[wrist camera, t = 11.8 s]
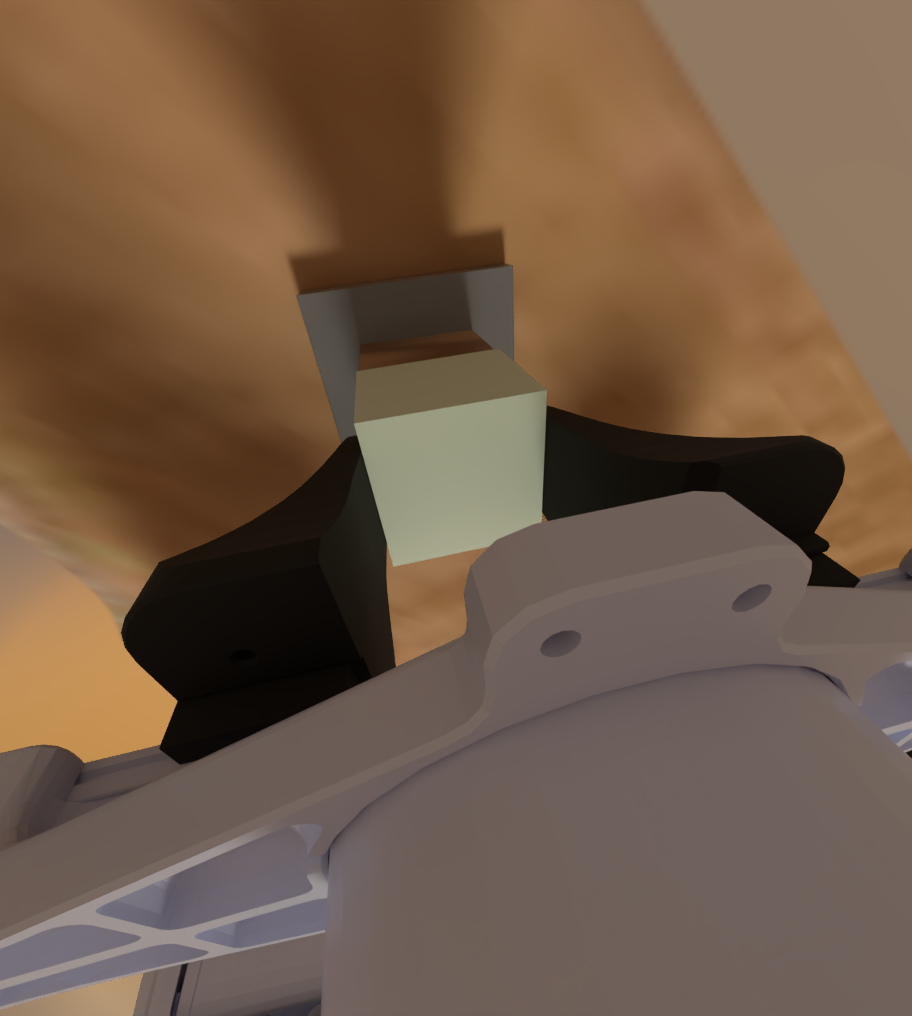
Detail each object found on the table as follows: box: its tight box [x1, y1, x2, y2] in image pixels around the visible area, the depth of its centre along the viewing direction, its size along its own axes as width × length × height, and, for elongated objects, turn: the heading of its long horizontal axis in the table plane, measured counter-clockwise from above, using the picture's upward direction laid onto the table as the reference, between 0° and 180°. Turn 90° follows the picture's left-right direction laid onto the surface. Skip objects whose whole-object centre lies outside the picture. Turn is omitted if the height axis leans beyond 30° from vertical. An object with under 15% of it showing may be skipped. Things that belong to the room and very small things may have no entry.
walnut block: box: [359, 330, 493, 371], centre depth 15 cm, size 4×4×4 cm
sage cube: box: [354, 349, 547, 566], centre depth 12 cm, size 4×4×4 cm
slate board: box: [297, 264, 514, 442], centre depth 17 cm, size 8×8×1 cm
